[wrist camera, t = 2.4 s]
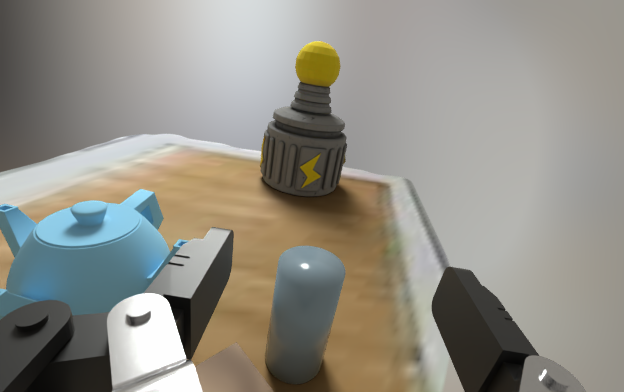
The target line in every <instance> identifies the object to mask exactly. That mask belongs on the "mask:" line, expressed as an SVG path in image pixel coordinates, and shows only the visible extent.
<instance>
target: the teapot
mask: <svg viewBox="0 0 624 392" xmlns="http://www.w3.org/2000/svg"><path fill="white" fill-rule="evenodd" d="M162 220H163V215H162V213H161V210H160V207H159V204H158V201H157V199H156V196H155V193H154V192H150V191H146V190H142V189H139V190H138V191H137V192H135V193H134V194H133V195H131V196H130V197H129V198H127V199H126V200H125V201H124V202H122V203H121V204H113V203H105V202H102V201H84V202H80V203H77V204H75V205H73V206H72V207H69V208H66V209H63V210H60V211H58V212H55V213H53V214H51V215H49V216H48V217H46V218H44V219H43V220H42V221H40V222H39V223H38V224H36V223H35V222H34V221H33V220H31V219H30V218H29V217H28V216H26V215H25V214H24V213H23V212H21V211H20V210H19V209H18V207H16V206H12V205H8V204H3V205H0V229H1V231H2V233H3V235H4V237H5V239H6V241H7V243H8V245H9V247H10V249H11V251H12V253H13V255H14V257H15V259H14V261H13V263H12V265H11V268H10V271H9V275H8V278H7V285H6V290H5V289H0V319H2V318H3V317H4V316H6V315H7V314H9V313H10V312H12V311H14V310H16V309H18V308H20V307H22V306H25V305H27V304H30V303H34V302H38V301H44V300H58V301H62V302H65V303H66V304H68V305H69V306H70V309H71V312H72V316H73V315H84V314H95V313H104V312H110V311H111V310H112V309H113V307H115V306H116V305H117V304H118V303H119V302H121V301H123V300H124V299H126V298H129V297H131V296H134V295H138V294H143V293H144V292H145V290H146V289H147V288H148V287H149V285H150V284H151V283H152V282H153V281H154V279H155V278H156V277H157V276H158V274H159V273H160V272H161V271H162V270H163V268H164V267H165V266H166V265H167V264H168V263H169V261H170V260H171V259H172V257H173V256H175V254H176V252H177V251H178V250H179V249H180V248H181V246H182V245H183V244H185V243H187V242H189V241H186V240H181V239H179V240H178V241H177V242H176V244H175V245H174V246H173V249H172V251H171V252H170V251H169V248H168V246H167V244H166V242H165V240H164V239H163V237H162V236H161V234H160V233H159V232H158V229H159V227H160V225H161V223H162Z"/></svg>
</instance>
